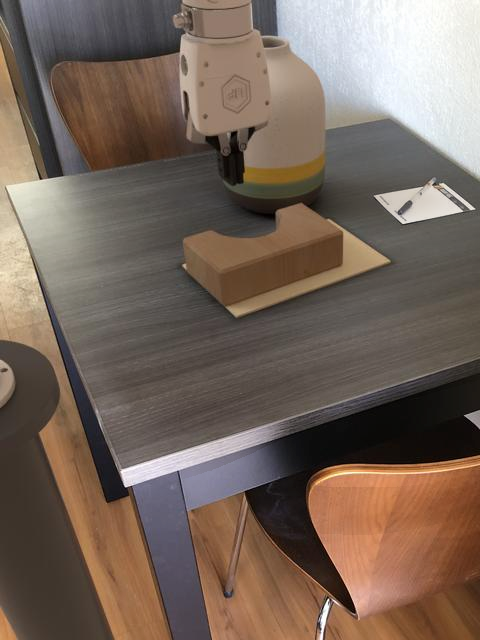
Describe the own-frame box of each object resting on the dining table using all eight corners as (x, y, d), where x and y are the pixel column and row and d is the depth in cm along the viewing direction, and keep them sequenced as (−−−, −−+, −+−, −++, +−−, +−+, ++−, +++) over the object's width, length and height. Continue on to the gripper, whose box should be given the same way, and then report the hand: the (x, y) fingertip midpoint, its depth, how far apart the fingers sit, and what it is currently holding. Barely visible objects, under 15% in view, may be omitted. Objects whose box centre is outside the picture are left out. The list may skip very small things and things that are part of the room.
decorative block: (180, 237, 100) (301, 201, 109) (186, 274, 104) (302, 236, 113) (219, 270, 94) (345, 229, 102) (224, 308, 98) (344, 265, 106)
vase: (249, 172, 130) (238, 20, 113) (338, 187, 126) (341, 32, 109) (206, 214, 118) (187, 51, 102) (303, 231, 114) (300, 65, 98)
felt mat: (236, 318, 97) (236, 315, 97) (182, 266, 106) (182, 264, 106) (390, 263, 108) (390, 260, 108) (329, 220, 117) (329, 218, 117)
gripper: (172, 38, 76) (193, 206, 88) (293, 18, 82) (297, 178, 95) (141, 21, 80) (166, 184, 93) (259, 3, 86) (267, 158, 99)
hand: (232, 180), depth 94 cm, fingers closed
